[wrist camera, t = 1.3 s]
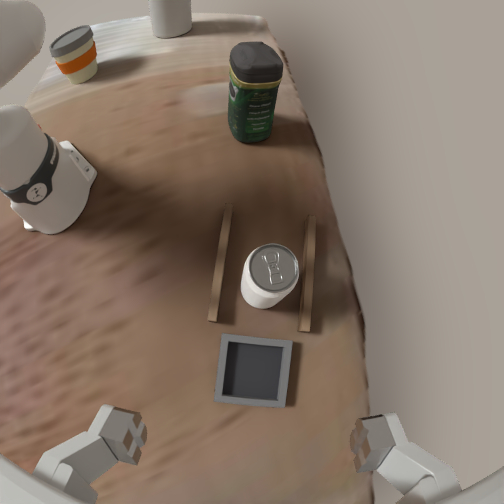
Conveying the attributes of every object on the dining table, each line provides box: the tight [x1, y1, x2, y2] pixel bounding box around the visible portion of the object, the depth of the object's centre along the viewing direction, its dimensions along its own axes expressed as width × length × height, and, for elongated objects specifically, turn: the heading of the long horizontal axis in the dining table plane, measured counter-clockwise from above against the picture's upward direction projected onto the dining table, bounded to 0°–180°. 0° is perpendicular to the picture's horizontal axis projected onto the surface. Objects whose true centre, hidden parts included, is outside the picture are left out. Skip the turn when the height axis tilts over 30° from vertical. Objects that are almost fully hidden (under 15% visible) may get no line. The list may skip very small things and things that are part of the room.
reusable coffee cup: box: [50, 25, 98, 84], centre depth 50 cm, size 13×13×15 cm
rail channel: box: [207, 203, 316, 332], centre depth 42 cm, size 18×14×2 cm
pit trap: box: [214, 333, 293, 408], centre depth 37 cm, size 10×10×2 cm
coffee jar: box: [228, 42, 283, 143], centre depth 43 cm, size 10×8×19 cm
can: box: [241, 243, 299, 309], centre depth 37 cm, size 6×6×12 cm
